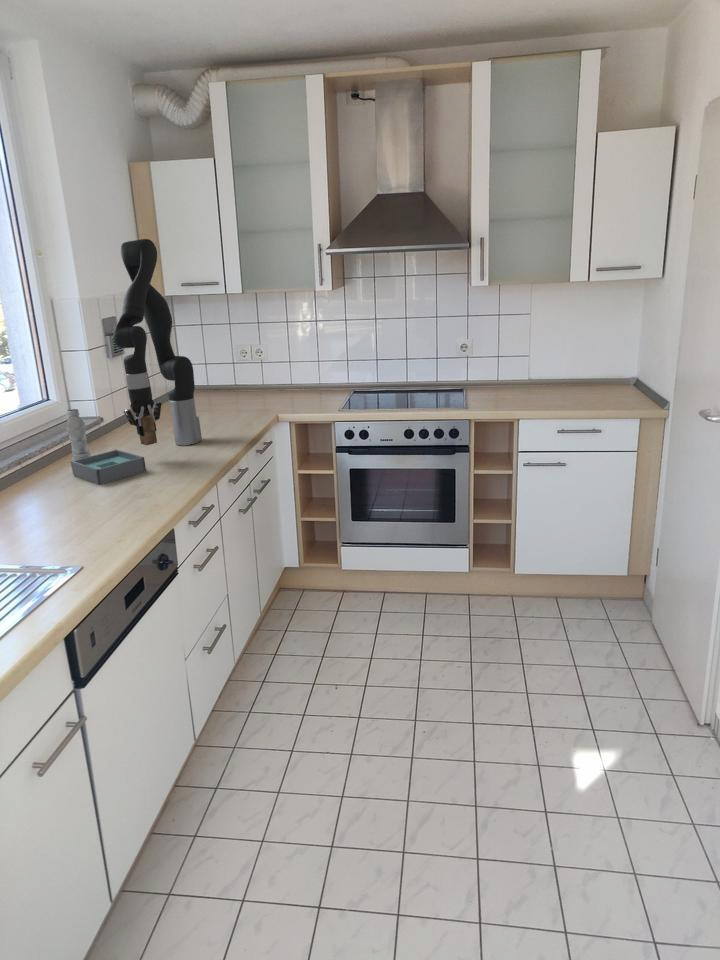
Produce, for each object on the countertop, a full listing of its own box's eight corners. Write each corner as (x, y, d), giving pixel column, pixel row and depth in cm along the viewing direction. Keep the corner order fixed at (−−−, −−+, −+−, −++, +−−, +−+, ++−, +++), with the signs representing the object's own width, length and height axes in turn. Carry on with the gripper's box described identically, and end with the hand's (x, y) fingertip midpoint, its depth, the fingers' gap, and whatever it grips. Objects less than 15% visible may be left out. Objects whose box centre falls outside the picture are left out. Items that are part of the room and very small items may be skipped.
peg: (151, 441, 250) (146, 413, 246) (157, 442, 247) (152, 414, 244) (141, 443, 247) (136, 416, 244) (147, 445, 244) (142, 417, 241)
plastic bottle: (72, 469, 246) (61, 413, 240) (74, 464, 252) (64, 409, 246) (92, 466, 247) (81, 411, 241) (93, 461, 254) (83, 407, 248)
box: (119, 463, 250) (116, 449, 248) (146, 471, 238) (143, 457, 237) (73, 475, 238) (70, 461, 237) (99, 484, 226) (96, 470, 225)
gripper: (151, 380, 248) (159, 428, 253) (114, 389, 238) (123, 438, 243) (163, 382, 243) (171, 430, 248) (126, 391, 233) (135, 441, 239)
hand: (147, 434), depth 246 cm, fingers closed on peg, 4 cm apart
